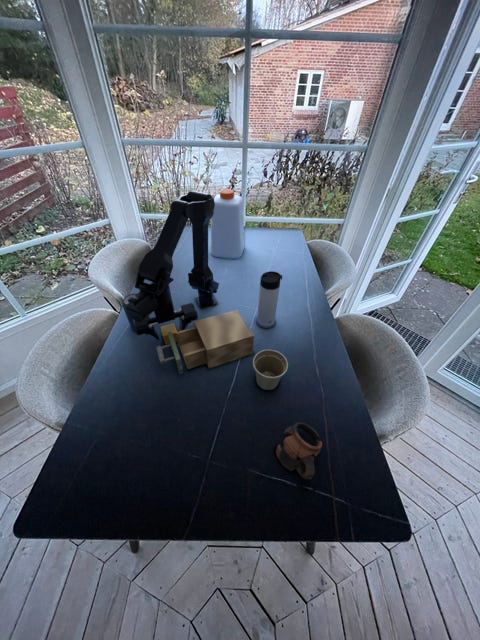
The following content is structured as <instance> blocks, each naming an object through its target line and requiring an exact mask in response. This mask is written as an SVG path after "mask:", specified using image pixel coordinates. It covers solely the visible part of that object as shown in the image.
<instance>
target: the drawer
mask: <svg viewBox="0 0 480 640" xmlns="http://www.w3.org/2000/svg"><path fill="white" fill-rule="evenodd" d="M167 333H168V337H169V342H170V344H169V345H162V346H161V345H157V346H156V347H155V349H156V352H157V357H158V360H159V363H160V365H165V364H166V362H170V361H173V360H174V361H175V364H176V368H177V371H178V374H179V375H183V374H184V368H183V364H182V359H181V356H180V353H179V350H180V352H181V355H182V358H183V361H184V364H185V367H186V369H187V370H190V369H193V368H196V367H199V366H202V365H205V364H206V365H207V363H208V362H207V353H206V349H205V346H204V344H203V342H202V340H201V337H200V335H199V333H198V330H197V328H196V327H195V326H193V327H189V328H185V330H182V331H180V330H179V331H178V330H177V332H176V334H177V339H178V342H177V343H178V347H179V349H178V347H177V344H176V343H175V341H174V338H173V335H172V332H171V331H170V332H167ZM168 348H171V352H172V355H173V356H170V357H167V358H166V357H165V354H164V350H165V349H168Z"/></svg>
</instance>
